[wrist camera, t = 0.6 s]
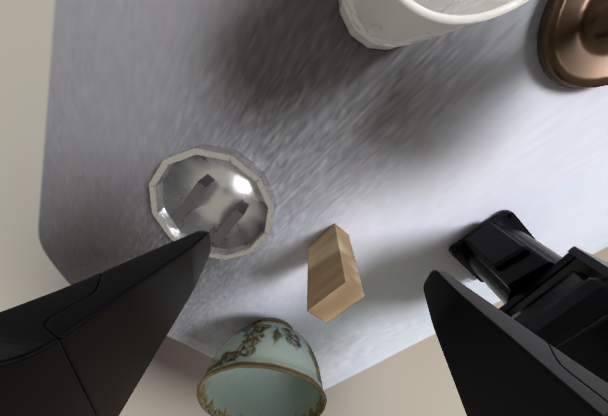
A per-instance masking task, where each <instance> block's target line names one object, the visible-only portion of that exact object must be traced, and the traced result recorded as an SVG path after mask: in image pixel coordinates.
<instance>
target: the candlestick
mask: <svg viewBox="0 0 608 416" xmlns="http://www.w3.org/2000/svg"><path fill="white" fill-rule="evenodd" d="M537 51H538V57H539V62H540V64H541V66H542V68H543V71H544V72H545V73H546V74H547V76H548V77H549V78H550V79H551V80H553V81H555V82H556V83H558V84H560V85H563V86H567V87H599V86H604V85H608V0H548V2H547V5H546V7H545V10H544V13H543V15H542V18H541V22H540V27H539V31H538V41H537Z"/></svg>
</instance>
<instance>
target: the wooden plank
mask: <svg viewBox="0 0 608 416" xmlns="http://www.w3.org/2000/svg"><path fill="white" fill-rule="evenodd" d="M363 297H365V295H364V291H363V288H362V284H361V280H360V276H359V273H358V269H357V265H356V261H355V258H354V254H353V250H352V246H351V243H350V239H349V235H348V234H347V233H346V232H345V231H343V230H342V229H341V228H340V227H338V226H337V225H336V224H333V225H332V226H331V227H330V228H329V229H328V230H327V231H326V232H325V233H323V234H322V235H321V236H320V237H319V238H318V239H317V240H316V241H314V242H313V243H312V244H311V245H310V246H309V247H308V293H307V311H308V312H310V313H311V314H313V315H314V316H316V317H318V318H319V319H321V320H322V321H324V322H325V323H327V322H328V321H330V320H331V319H333V318H334V317H336V316H337V315H338V314H340V313H341V312H343V311H344V310H346V309H347V308H349V307H350V306H352V305H353V304H354V303H356V302H357V301H359V300H360V299H362V298H363Z"/></svg>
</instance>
